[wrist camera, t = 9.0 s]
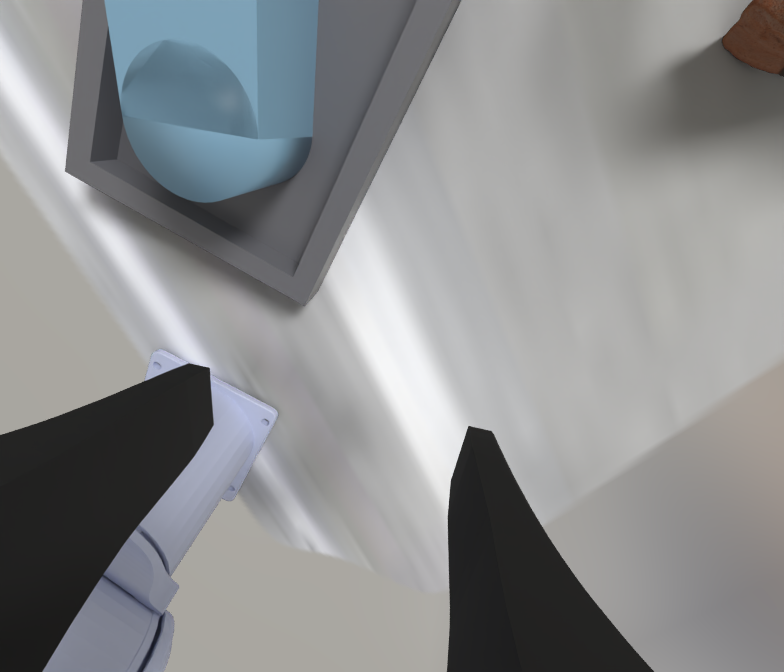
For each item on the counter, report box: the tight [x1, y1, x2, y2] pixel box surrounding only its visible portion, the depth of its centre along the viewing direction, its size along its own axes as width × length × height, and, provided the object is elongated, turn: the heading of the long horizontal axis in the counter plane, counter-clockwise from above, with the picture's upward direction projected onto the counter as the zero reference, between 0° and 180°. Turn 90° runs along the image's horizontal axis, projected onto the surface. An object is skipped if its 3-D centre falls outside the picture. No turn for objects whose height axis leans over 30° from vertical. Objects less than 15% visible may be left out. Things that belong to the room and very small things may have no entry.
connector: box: [104, 0, 319, 203], centre depth 13 cm, size 10×4×5 cm, turn 172°
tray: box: [65, 0, 461, 306], centre depth 15 cm, size 16×12×2 cm
